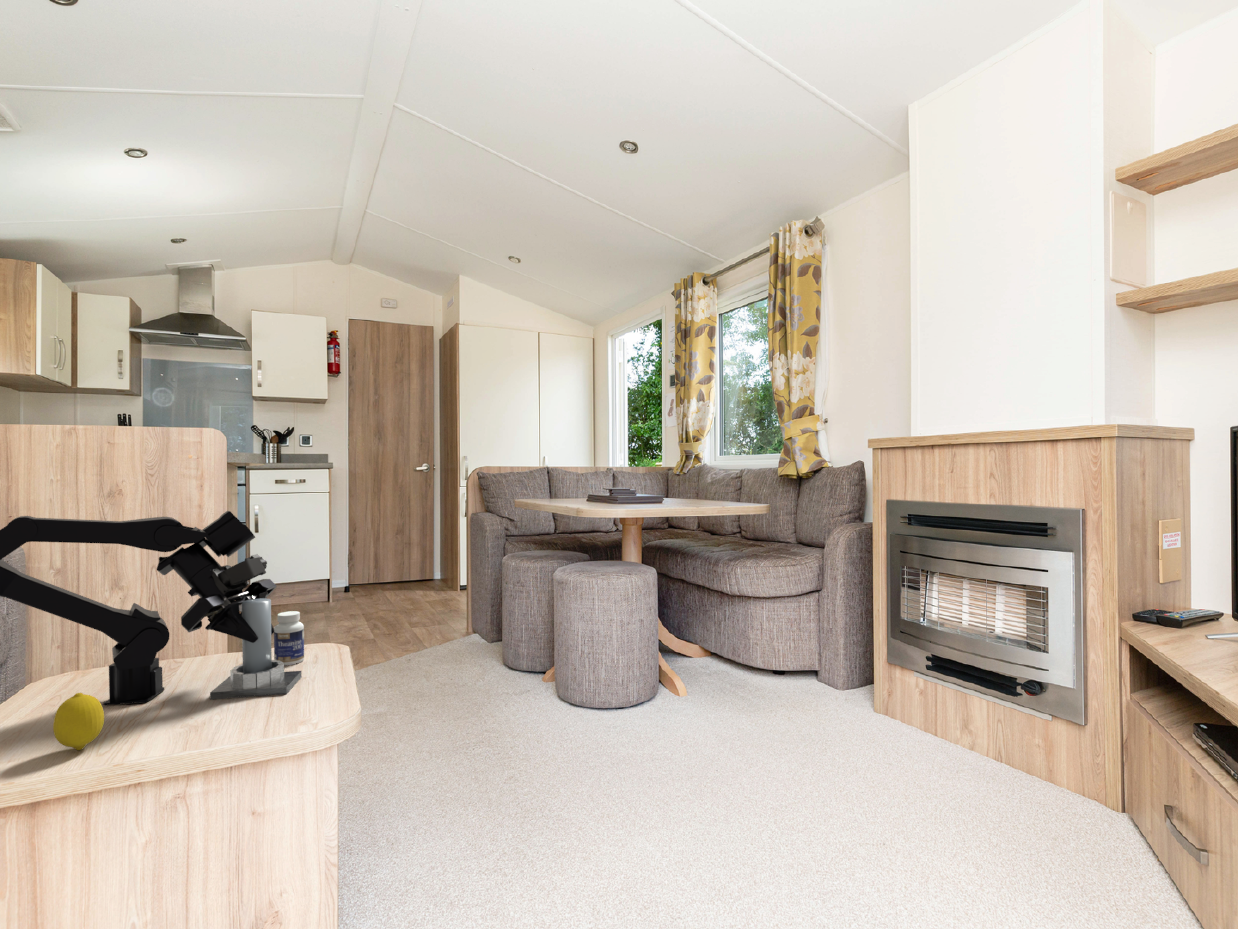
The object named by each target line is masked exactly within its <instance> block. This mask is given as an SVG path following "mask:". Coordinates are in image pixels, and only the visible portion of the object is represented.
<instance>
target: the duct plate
mask: <svg viewBox="0 0 1238 929" xmlns="http://www.w3.org/2000/svg"><path fill="white" fill-rule="evenodd" d="M229 674H230V675H229V676H228V677H227V678H226V679H225V680H223V681H222V682H221V683H219V684H218V685H217V686H216V687H215V688H214V689H212V690H211V691H210V692H209V697H210V698H209V699H210V700H221V699H222V700H224V699H236V698H237V699H238V698H250V697H265V696H277V695H279V696H280V695H287V694H288V693H289V692H290V691H291V690H292V689H293V688H294V686H295V685H296V684H297V683H298V682H299V680H301V678H302V670H293V671H292V670H291V671H290V670H289V671H285V665H284V663H283V662H282V661H278V660H274V659H272V669H270V670H266V671H261V672H256V673H243V663H242V664H239V665H235V666H234V667H233V668H232V669H231V670H230V673H229Z"/></svg>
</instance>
